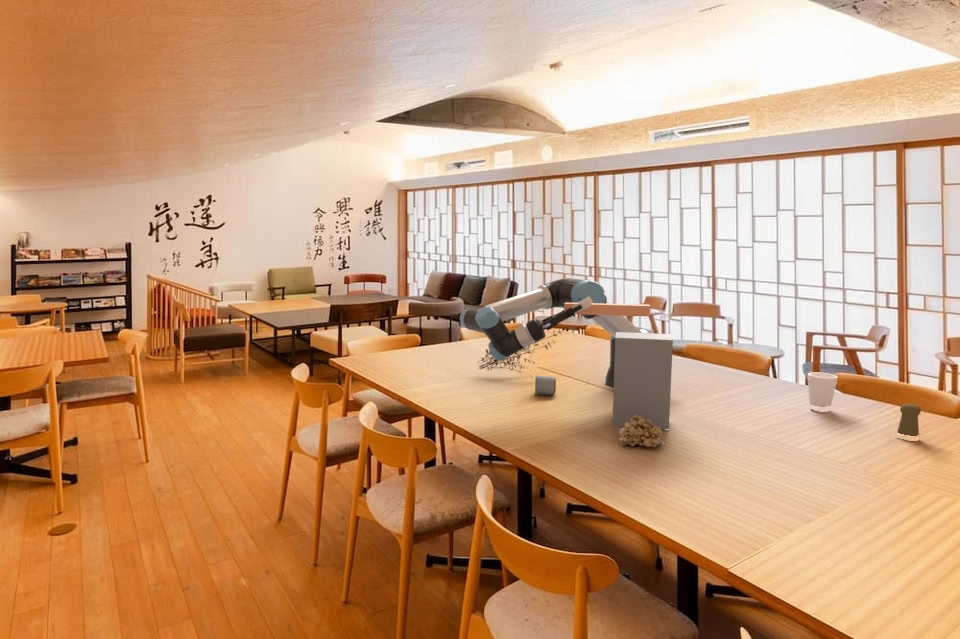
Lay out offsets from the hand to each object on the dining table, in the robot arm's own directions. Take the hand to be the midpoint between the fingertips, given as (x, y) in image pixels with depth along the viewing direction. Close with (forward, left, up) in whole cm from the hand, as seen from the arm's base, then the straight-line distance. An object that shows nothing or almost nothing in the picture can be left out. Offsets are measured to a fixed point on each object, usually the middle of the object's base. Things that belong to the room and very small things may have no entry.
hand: (590, 300), depth 206 cm
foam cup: (-76, +42, -41) cm, 97 cm away
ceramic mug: (-11, -35, -42) cm, 55 cm away
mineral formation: (+4, +27, -42) cm, 50 cm away
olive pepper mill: (-66, +73, -41) cm, 107 cm away
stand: (-11, +13, -41) cm, 45 cm away
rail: (-3, +4, -4) cm, 7 cm away
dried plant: (-23, -62, -42) cm, 78 cm away
